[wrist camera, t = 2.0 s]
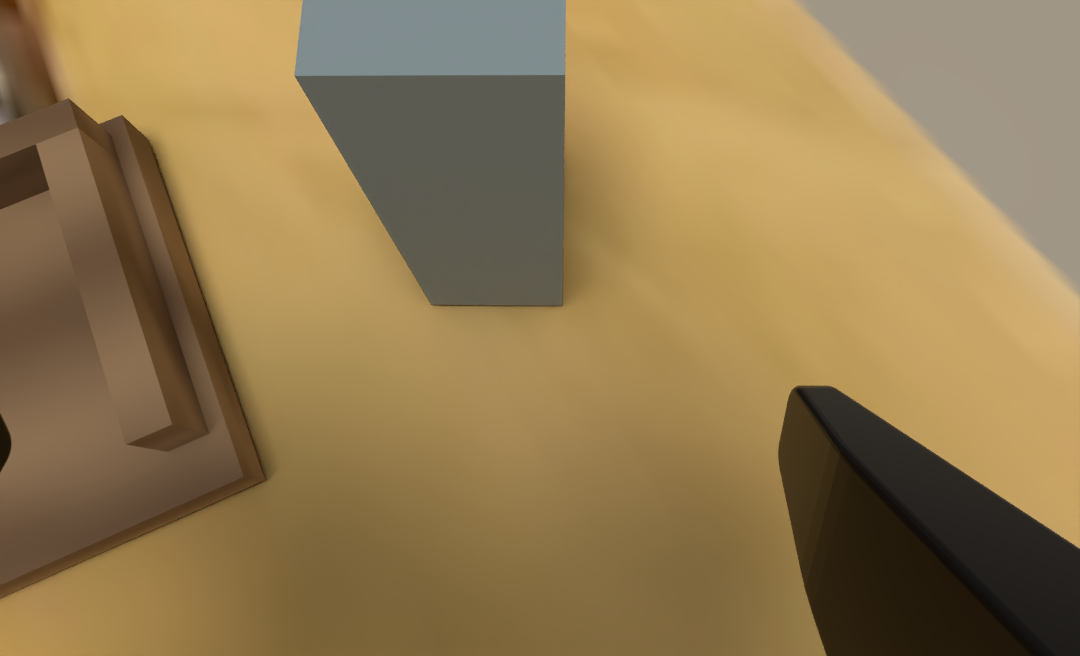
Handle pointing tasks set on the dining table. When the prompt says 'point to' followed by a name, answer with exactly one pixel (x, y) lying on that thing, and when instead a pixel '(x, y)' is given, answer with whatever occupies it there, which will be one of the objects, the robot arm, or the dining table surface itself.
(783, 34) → the dining table surface
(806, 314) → the dining table surface
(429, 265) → the grey rectangular block
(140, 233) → the stand
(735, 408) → the dining table surface
